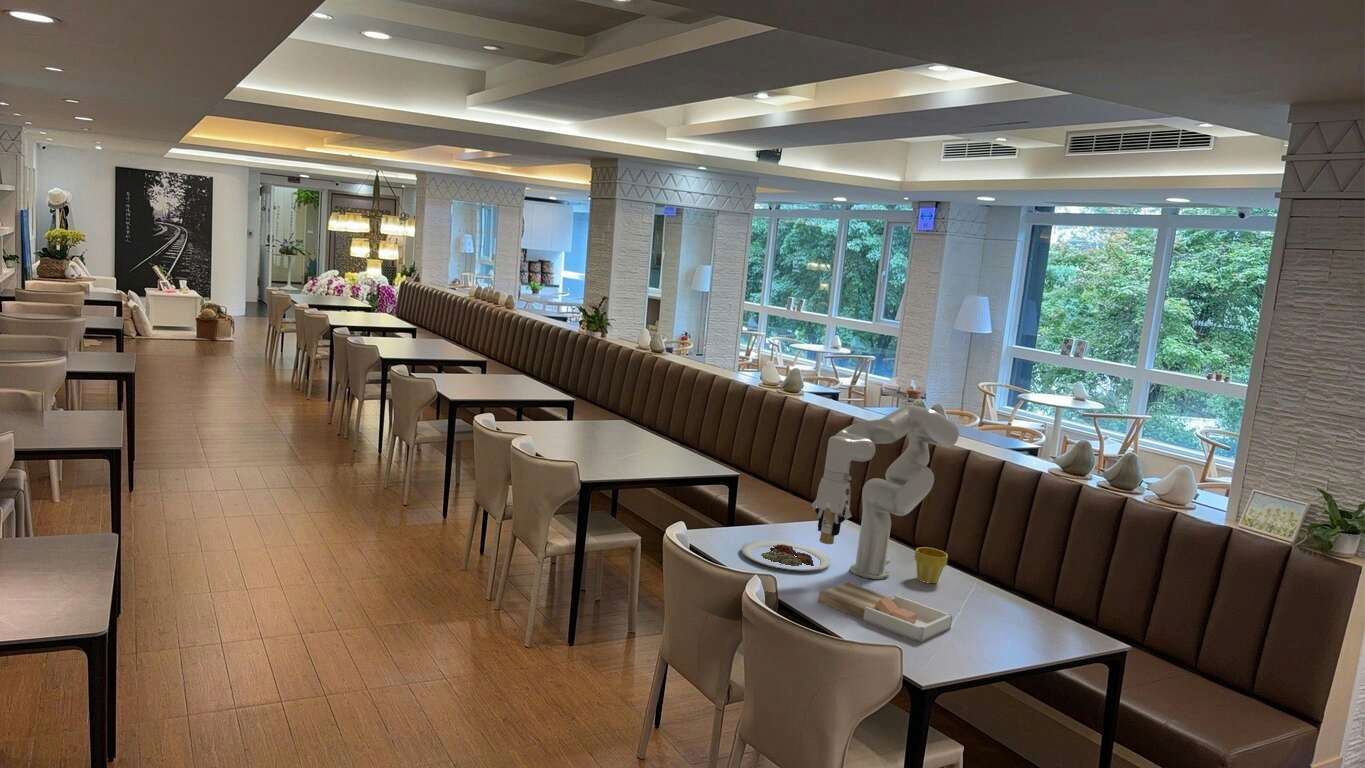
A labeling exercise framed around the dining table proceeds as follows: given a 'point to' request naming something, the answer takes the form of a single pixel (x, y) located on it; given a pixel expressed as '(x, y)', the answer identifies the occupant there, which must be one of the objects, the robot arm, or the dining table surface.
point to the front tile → (905, 615)
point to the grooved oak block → (850, 599)
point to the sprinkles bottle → (827, 526)
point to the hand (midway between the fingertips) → (828, 532)
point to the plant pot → (930, 563)
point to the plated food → (786, 554)
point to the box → (923, 629)
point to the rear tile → (886, 605)
